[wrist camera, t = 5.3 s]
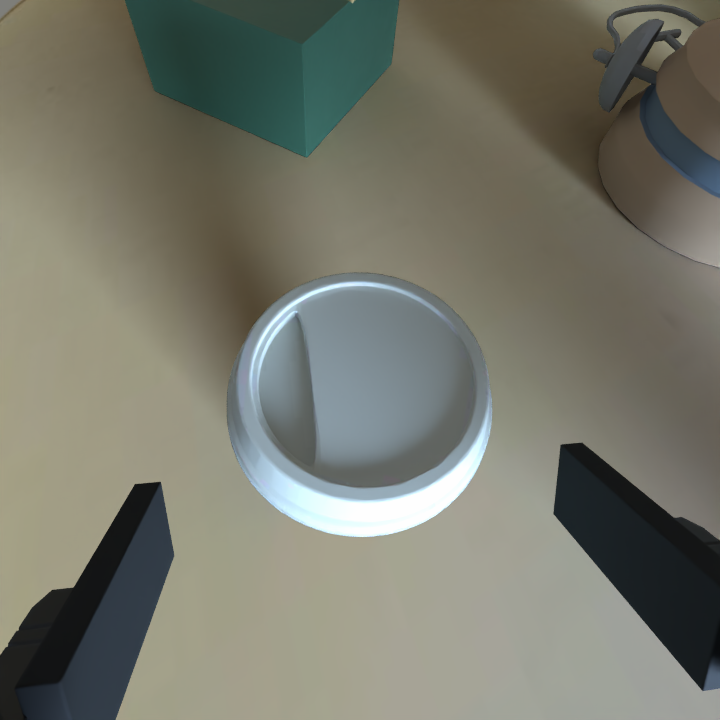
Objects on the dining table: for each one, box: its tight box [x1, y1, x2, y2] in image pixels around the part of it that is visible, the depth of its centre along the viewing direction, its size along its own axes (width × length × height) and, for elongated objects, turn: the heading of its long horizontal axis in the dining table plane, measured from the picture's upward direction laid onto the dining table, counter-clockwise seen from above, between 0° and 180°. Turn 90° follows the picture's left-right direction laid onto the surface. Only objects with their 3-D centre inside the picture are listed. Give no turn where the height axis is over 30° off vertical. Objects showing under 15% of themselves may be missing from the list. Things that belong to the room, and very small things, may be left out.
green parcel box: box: [125, 0, 399, 157], centre depth 36 cm, size 14×14×8 cm
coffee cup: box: [227, 273, 492, 537], centre depth 19 cm, size 9×8×12 cm
